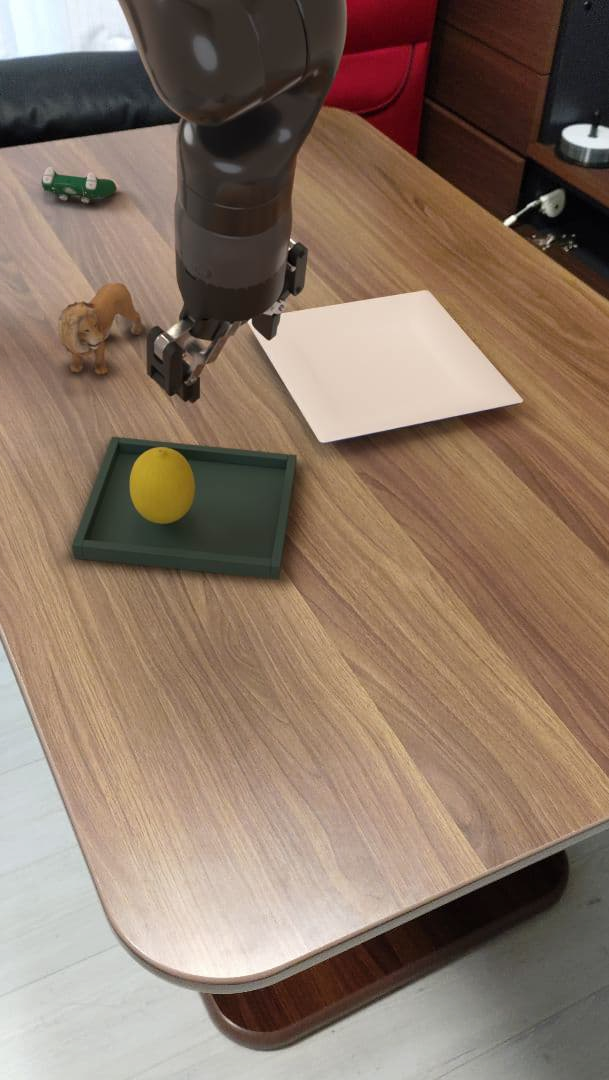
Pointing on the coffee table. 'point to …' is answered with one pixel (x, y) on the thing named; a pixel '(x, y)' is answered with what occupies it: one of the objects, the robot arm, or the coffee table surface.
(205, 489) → the tray
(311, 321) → the plate
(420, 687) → the coffee table surface
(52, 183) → the green piece
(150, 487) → the lemon
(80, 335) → the lion figurine
